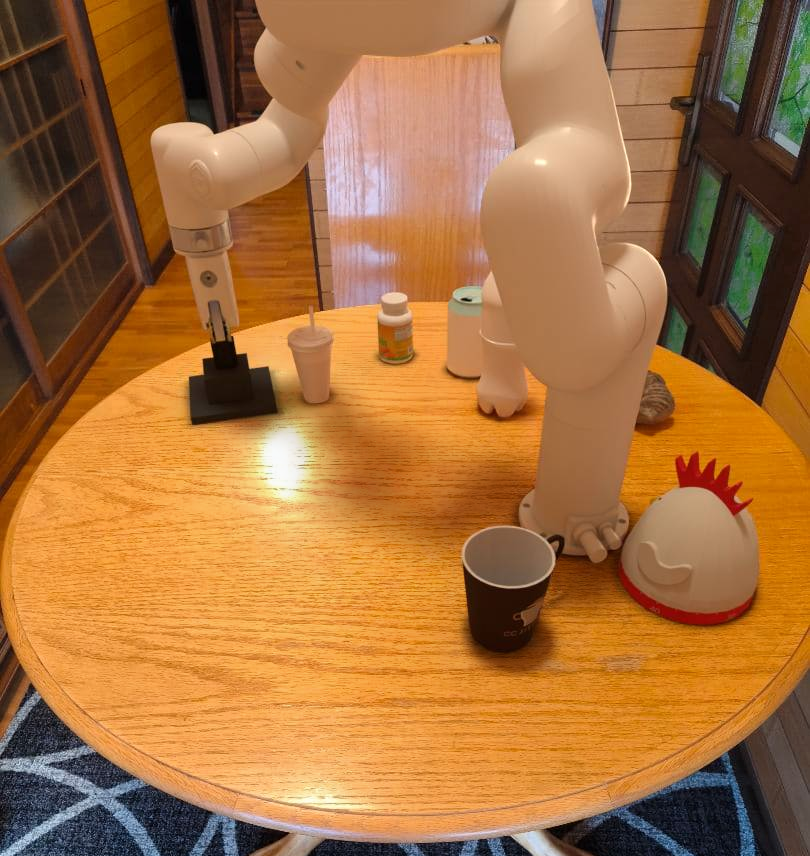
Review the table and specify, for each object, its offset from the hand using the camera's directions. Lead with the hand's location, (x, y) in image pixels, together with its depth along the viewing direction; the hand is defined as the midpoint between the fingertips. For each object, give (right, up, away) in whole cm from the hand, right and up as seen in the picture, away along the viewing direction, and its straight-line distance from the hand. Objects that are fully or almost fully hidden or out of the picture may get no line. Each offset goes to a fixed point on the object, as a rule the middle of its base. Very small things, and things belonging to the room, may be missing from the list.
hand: (226, 365), depth 109 cm
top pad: (0, -3, +3) cm, 4 cm away
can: (+35, +1, +9) cm, 36 cm away
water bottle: (+39, -6, 0) cm, 40 cm away
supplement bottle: (+24, +4, +12) cm, 27 cm away
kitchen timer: (+55, -29, -26) cm, 68 cm away
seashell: (+57, -8, -2) cm, 58 cm away
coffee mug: (+37, -34, -31) cm, 59 cm away
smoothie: (+12, -4, +3) cm, 13 cm away
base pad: (0, -4, +4) cm, 5 cm away
